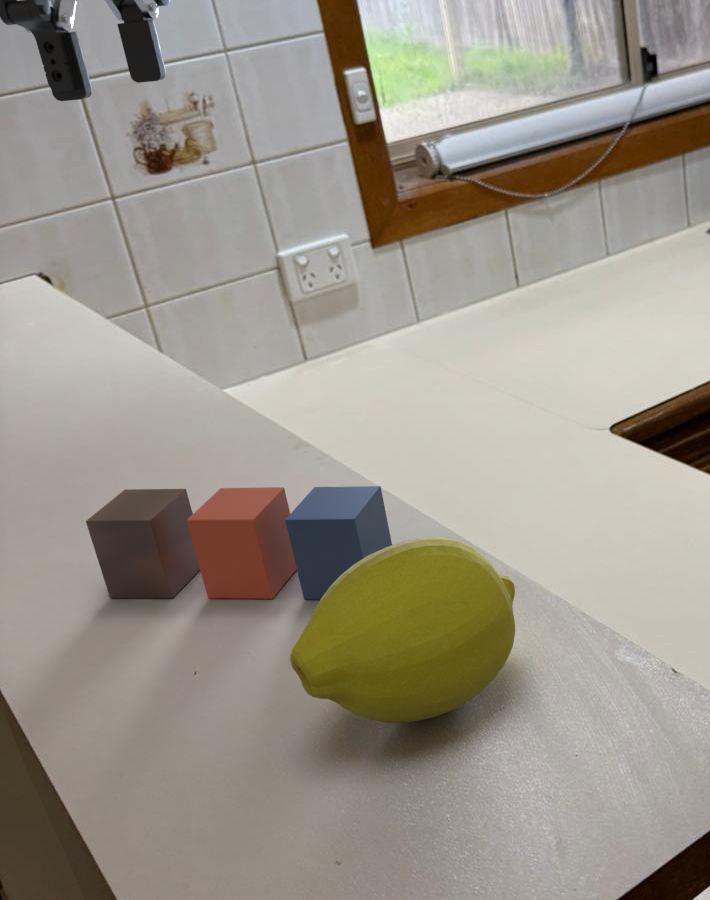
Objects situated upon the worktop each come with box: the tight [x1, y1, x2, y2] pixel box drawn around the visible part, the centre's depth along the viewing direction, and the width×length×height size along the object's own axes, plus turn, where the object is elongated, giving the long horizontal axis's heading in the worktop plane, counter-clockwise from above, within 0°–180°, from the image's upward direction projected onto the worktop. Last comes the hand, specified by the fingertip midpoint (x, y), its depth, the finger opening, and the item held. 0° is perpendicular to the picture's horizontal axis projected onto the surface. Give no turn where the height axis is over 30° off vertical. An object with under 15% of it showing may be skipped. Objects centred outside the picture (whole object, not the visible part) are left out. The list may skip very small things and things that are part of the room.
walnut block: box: [85, 488, 200, 599], centre depth 66 cm, size 4×4×5 cm
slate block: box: [285, 485, 393, 601], centre depth 63 cm, size 4×4×5 cm
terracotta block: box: [187, 486, 297, 600], centre depth 65 cm, size 4×4×5 cm
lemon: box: [289, 536, 516, 724], centre depth 51 cm, size 11×8×8 cm
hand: (114, 89), depth 72 cm, fingers open, 8 cm apart
